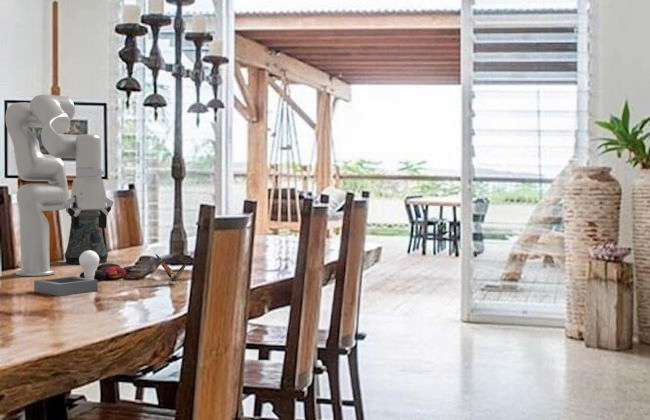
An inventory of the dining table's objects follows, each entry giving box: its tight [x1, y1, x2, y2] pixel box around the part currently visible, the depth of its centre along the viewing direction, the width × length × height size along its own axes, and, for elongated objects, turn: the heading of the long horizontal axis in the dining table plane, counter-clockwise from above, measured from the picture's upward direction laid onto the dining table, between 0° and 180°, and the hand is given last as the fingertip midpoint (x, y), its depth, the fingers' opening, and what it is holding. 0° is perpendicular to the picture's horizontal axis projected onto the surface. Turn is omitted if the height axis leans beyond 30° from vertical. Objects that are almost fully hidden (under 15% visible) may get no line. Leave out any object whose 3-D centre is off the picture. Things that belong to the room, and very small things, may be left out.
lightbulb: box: [79, 250, 100, 279], centre depth 239 cm, size 6×6×11 cm
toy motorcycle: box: [79, 262, 134, 282], centre depth 259 cm, size 25×5×16 cm
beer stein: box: [64, 210, 109, 266], centre depth 303 cm, size 16×19×25 cm
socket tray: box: [33, 275, 99, 297], centre depth 226 cm, size 13×13×3 cm
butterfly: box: [155, 253, 193, 286], centre depth 241 cm, size 12×10×10 cm
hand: (89, 228), depth 238 cm, fingers open, 9 cm apart
